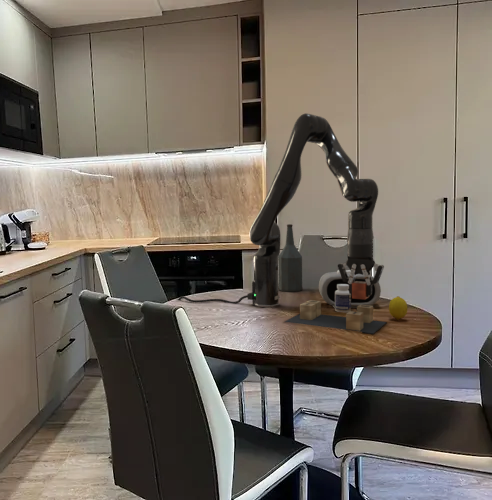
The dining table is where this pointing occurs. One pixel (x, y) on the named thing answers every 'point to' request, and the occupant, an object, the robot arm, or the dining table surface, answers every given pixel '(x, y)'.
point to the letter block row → (359, 317)
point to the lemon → (398, 307)
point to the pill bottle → (342, 298)
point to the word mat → (337, 323)
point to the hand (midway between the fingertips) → (360, 295)
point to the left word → (310, 310)
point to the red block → (359, 290)
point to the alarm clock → (330, 286)
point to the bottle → (290, 265)
